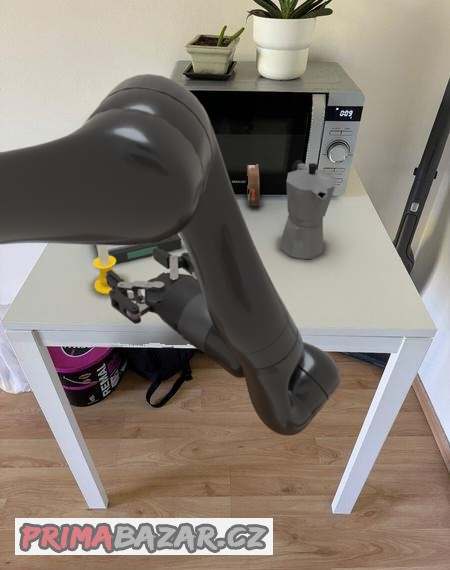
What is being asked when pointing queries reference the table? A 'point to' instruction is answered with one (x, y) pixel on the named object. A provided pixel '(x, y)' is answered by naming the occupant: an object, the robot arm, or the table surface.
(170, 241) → the kitchen scale
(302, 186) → the coffeepot
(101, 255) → the candle
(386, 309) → the table surface
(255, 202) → the tin
